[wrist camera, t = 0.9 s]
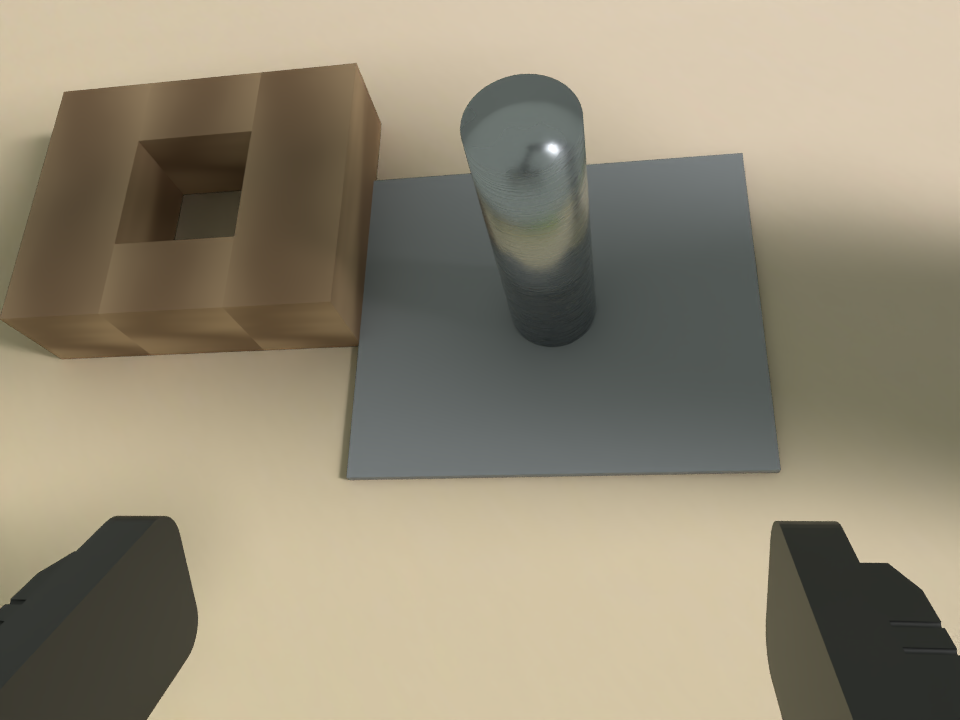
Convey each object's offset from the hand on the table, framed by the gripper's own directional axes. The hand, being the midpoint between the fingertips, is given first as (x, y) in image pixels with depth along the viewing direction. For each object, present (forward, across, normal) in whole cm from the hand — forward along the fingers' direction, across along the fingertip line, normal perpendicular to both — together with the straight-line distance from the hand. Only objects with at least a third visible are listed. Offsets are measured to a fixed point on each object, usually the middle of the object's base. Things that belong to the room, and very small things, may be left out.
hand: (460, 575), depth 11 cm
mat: (+19, 0, +2) cm, 19 cm away
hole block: (+22, +13, 0) cm, 25 cm away
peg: (+19, 0, +2) cm, 19 cm away
